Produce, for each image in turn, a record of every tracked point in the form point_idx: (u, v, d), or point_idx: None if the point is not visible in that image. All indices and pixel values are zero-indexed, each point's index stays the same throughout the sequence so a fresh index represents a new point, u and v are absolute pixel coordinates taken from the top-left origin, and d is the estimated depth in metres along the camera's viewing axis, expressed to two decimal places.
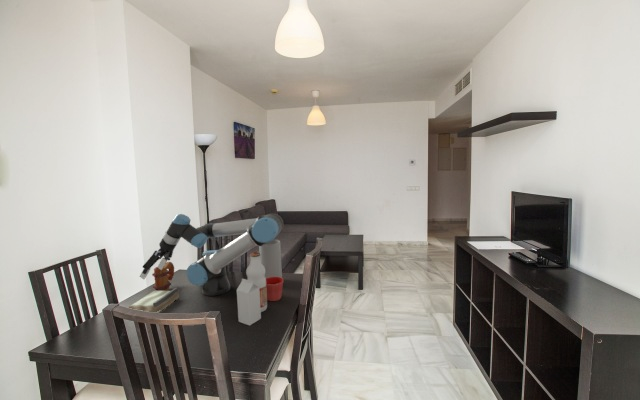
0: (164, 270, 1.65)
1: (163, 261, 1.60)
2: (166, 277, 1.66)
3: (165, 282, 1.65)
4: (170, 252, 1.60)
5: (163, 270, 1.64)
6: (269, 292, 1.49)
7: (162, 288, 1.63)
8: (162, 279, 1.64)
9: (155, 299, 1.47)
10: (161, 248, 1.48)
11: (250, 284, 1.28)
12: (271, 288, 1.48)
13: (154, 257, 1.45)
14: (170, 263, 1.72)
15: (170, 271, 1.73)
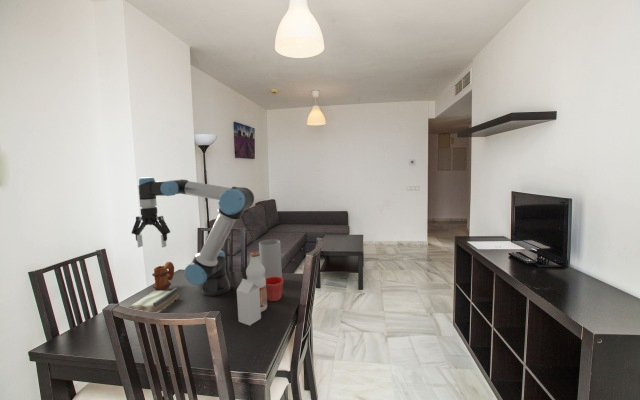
0: (164, 270, 1.64)
1: None
2: (166, 277, 1.66)
3: (165, 282, 1.65)
4: (161, 225, 1.51)
5: (163, 270, 1.64)
6: (269, 292, 1.49)
7: (162, 288, 1.63)
8: (162, 279, 1.64)
9: (155, 299, 1.47)
10: None
11: (250, 284, 1.28)
12: (271, 288, 1.48)
13: None
14: (170, 263, 1.72)
15: (170, 271, 1.73)
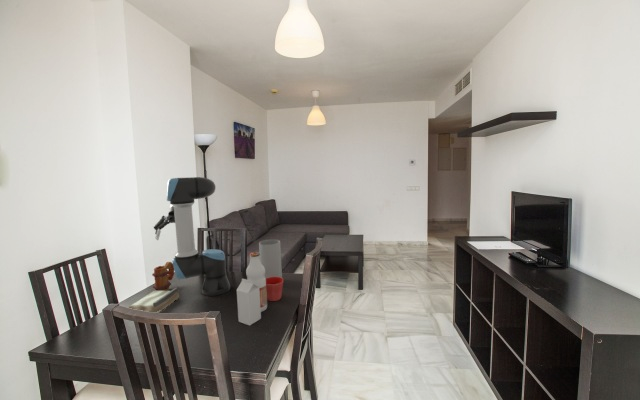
0: (164, 270, 1.64)
1: None
2: (166, 277, 1.66)
3: (165, 282, 1.65)
4: None
5: (163, 270, 1.64)
6: (269, 292, 1.49)
7: (162, 288, 1.63)
8: (162, 279, 1.64)
9: (155, 299, 1.47)
10: None
11: (250, 284, 1.28)
12: (271, 288, 1.48)
13: None
14: (170, 263, 1.72)
15: (170, 271, 1.73)
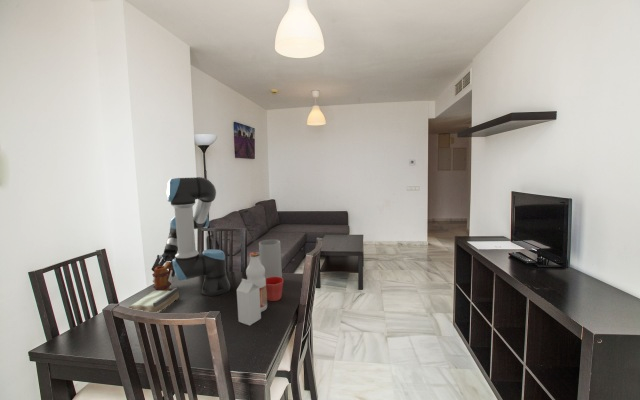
0: (164, 270, 1.64)
1: None
2: (166, 277, 1.66)
3: (165, 282, 1.65)
4: None
5: (163, 270, 1.64)
6: (269, 292, 1.49)
7: (162, 288, 1.63)
8: (162, 279, 1.64)
9: (155, 299, 1.47)
10: None
11: (250, 284, 1.28)
12: (271, 288, 1.48)
13: None
14: (170, 263, 1.72)
15: (170, 271, 1.73)
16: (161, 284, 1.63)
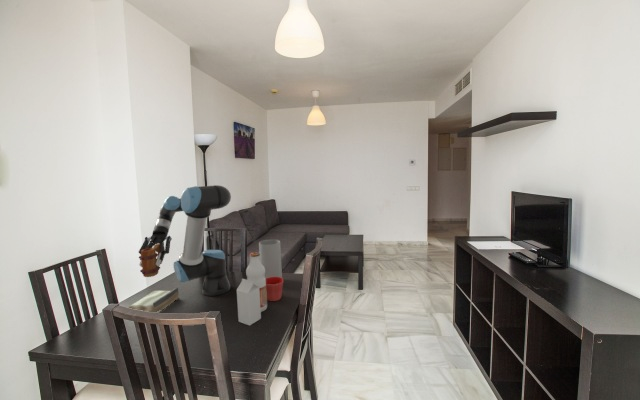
0: (152, 252, 1.50)
1: None
2: (154, 260, 1.51)
3: (153, 265, 1.51)
4: (166, 244, 1.58)
5: (151, 252, 1.49)
6: (269, 292, 1.49)
7: (150, 272, 1.49)
8: (150, 262, 1.49)
9: (155, 299, 1.47)
10: None
11: (250, 284, 1.28)
12: (271, 288, 1.48)
13: None
14: (159, 245, 1.58)
15: None
16: (148, 267, 1.49)
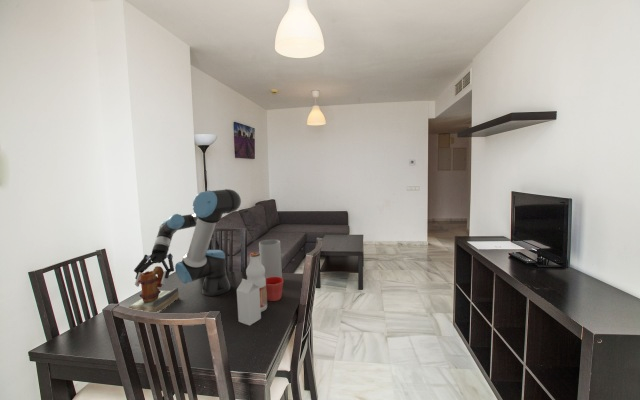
0: (152, 276, 1.43)
1: None
2: (155, 284, 1.45)
3: (154, 290, 1.44)
4: (169, 262, 1.52)
5: (151, 276, 1.43)
6: (269, 292, 1.49)
7: (150, 297, 1.42)
8: (150, 286, 1.42)
9: None
10: None
11: (250, 284, 1.28)
12: (271, 288, 1.48)
13: None
14: (159, 268, 1.51)
15: (159, 277, 1.52)
16: (149, 292, 1.42)
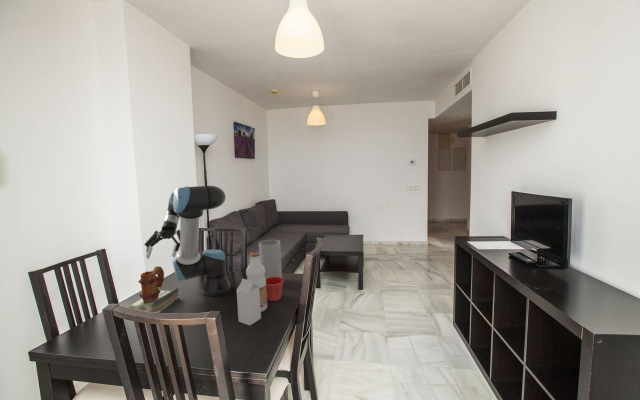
0: (152, 276, 1.43)
1: None
2: (155, 284, 1.45)
3: (154, 290, 1.44)
4: (178, 237, 1.64)
5: (151, 276, 1.43)
6: (269, 292, 1.49)
7: (150, 297, 1.42)
8: (150, 286, 1.42)
9: None
10: None
11: (250, 284, 1.28)
12: (271, 288, 1.48)
13: None
14: (159, 268, 1.51)
15: (159, 277, 1.52)
16: (149, 292, 1.42)
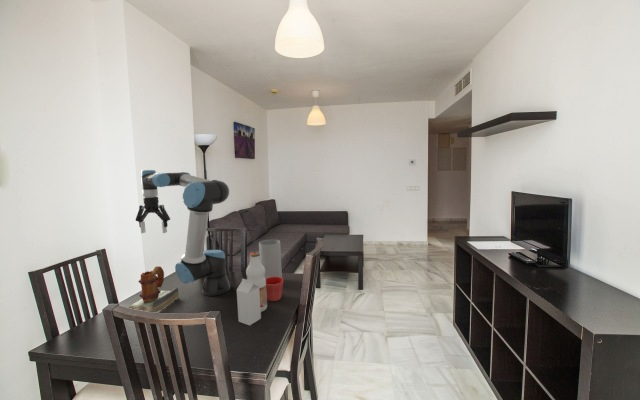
0: (152, 276, 1.43)
1: None
2: (155, 284, 1.45)
3: (154, 290, 1.44)
4: None
5: (151, 276, 1.43)
6: (269, 292, 1.49)
7: (150, 297, 1.42)
8: (150, 286, 1.42)
9: None
10: None
11: (250, 284, 1.28)
12: (271, 288, 1.48)
13: None
14: (159, 268, 1.51)
15: (159, 277, 1.52)
16: (149, 292, 1.42)
